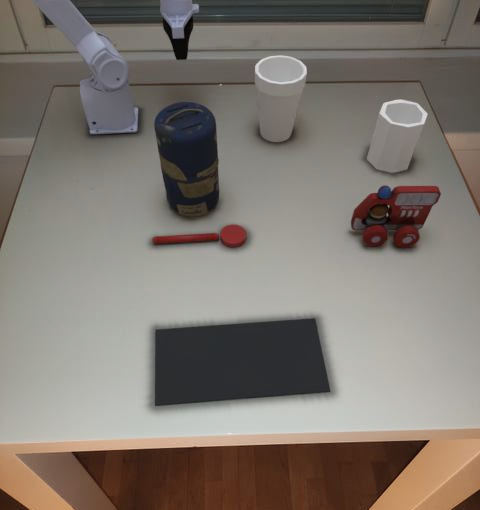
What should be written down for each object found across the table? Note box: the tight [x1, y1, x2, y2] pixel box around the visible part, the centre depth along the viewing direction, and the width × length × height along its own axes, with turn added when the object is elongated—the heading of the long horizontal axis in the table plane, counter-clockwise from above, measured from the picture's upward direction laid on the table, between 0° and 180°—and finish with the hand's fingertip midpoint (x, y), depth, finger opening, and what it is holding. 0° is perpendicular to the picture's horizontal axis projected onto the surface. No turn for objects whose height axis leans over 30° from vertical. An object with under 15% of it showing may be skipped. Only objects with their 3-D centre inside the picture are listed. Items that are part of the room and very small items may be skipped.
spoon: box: [151, 224, 247, 248], centre depth 80 cm, size 16×4×1 cm, turn 95°
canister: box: [153, 101, 220, 218], centre depth 78 cm, size 10×10×18 cm
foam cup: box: [254, 54, 308, 143], centre depth 91 cm, size 10×9×13 cm
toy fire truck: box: [350, 185, 442, 249], centre depth 77 cm, size 7×12×10 cm, turn 88°
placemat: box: [154, 317, 331, 407], centre depth 68 cm, size 24×12×1 cm, turn 95°
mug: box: [366, 98, 429, 174], centre depth 89 cm, size 12×9×10 cm
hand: (181, 58), depth 94 cm, fingers closed
